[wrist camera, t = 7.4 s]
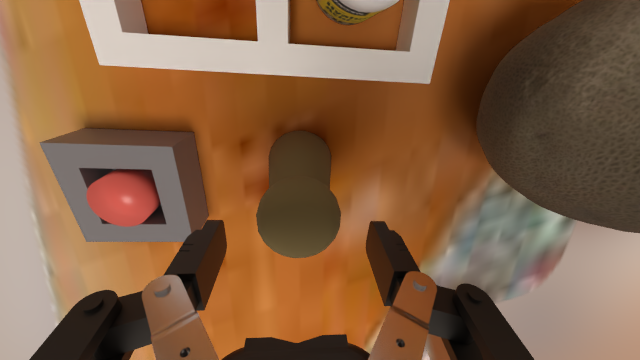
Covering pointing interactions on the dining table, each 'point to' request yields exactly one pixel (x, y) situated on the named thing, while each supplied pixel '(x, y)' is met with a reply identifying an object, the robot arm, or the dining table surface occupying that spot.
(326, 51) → the window frame
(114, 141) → the button housing
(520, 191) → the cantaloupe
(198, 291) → the robot arm
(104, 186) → the button
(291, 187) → the olive gourd
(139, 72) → the dining table surface
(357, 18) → the supplement bottle
